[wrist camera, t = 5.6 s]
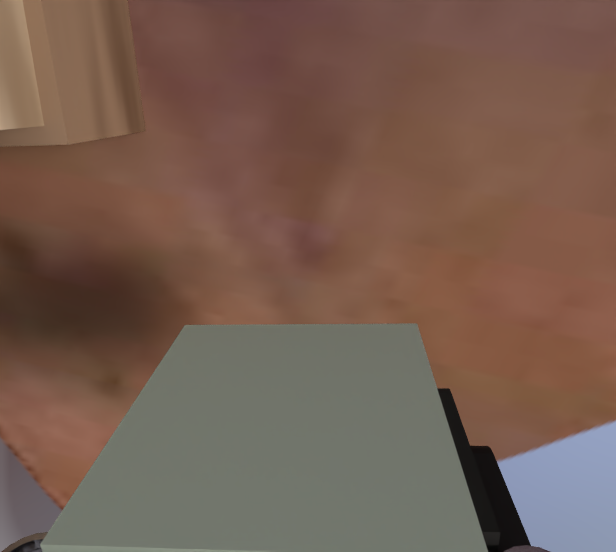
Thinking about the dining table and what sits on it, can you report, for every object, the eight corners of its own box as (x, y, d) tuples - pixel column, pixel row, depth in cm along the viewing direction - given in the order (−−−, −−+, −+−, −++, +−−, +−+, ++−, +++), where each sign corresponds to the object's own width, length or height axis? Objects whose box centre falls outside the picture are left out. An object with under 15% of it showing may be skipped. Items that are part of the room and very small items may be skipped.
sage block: (416, 323, 11) (489, 558, 6) (408, 503, 13) (456, 809, 8) (184, 325, 12) (39, 545, 6) (211, 499, 14) (119, 785, 8)
